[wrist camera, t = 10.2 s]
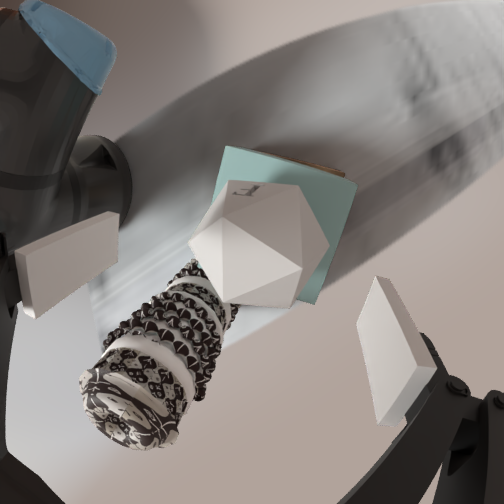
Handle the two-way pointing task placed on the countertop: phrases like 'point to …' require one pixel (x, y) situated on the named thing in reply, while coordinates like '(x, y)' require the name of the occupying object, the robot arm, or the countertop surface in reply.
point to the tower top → (313, 188)
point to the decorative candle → (158, 362)
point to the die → (259, 243)
